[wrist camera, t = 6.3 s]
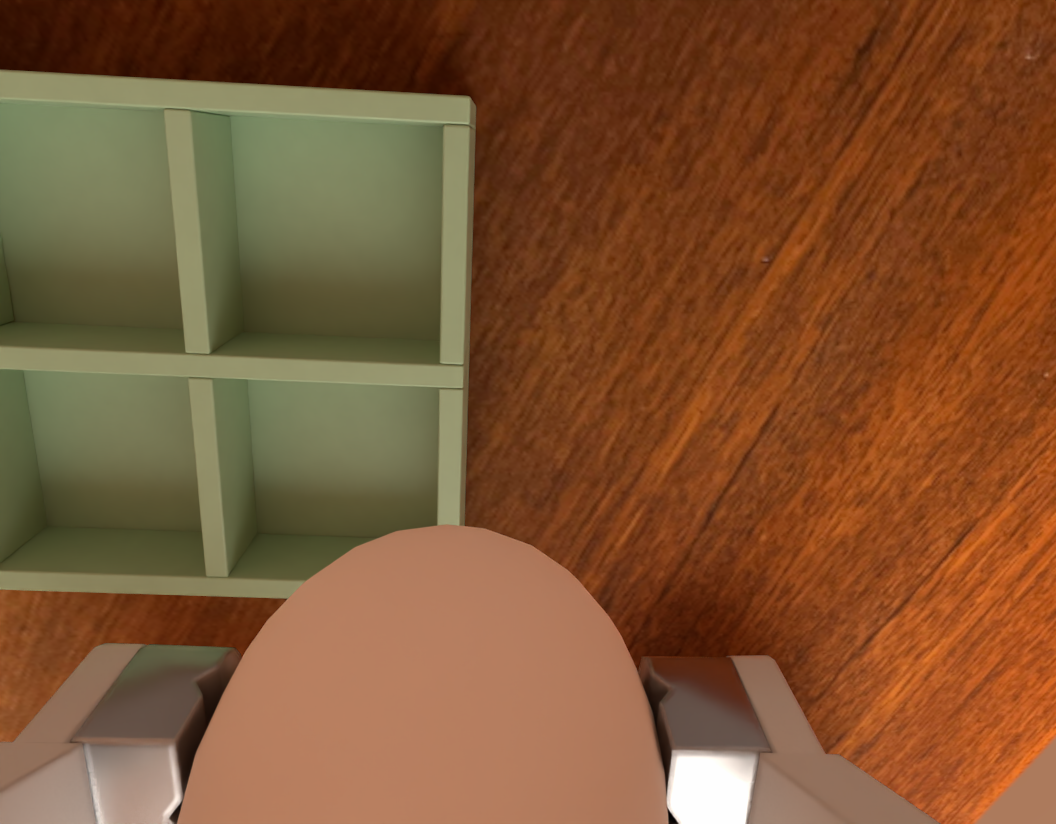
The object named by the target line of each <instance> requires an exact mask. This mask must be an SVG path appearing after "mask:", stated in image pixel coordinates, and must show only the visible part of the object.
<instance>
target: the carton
mask: <svg viewBox="0 0 1056 824" xmlns="http://www.w3.org/2000/svg"><path fill="white" fill-rule="evenodd" d="M475 133H476V105H475V104H474V102H473V101H472V99H471V98H470V97H469V96H462V95H444V94H426V93H409V92H391V91H373V90H355V89H338V88H320V87H302V86H284V85H267V84H249V83H231V82H213V81H196V80H178V79H160V78H142V77H125V76H107V75H89V74H71V73H54V72H36V71H18V70H1V69H0V590H30V591H62V592H94V593H126V594H158V595H189V596H221V597H253V598H285V599H288V598H289V597H290V596H291V595H292V594H293V593H294V592H295V591H296V590H297V589H298V588H299V587H300V586H301V585H302V584H303V583H304V582H306V581H307V580H308V579H310V578H311V577H312V576H314V575H315V574H317V573H318V572H319V571H321V570H322V569H324V568H325V567H327V566H328V565H330V564H331V563H333V562H334V561H336V560H337V559H338V558H340V557H341V556H343V555H344V554H346V553H347V552H349V551H350V550H352V549H353V548H354V547H357V546H359V545H362V544H364V543H367V542H370V541H372V540H375V539H377V538H380V537H382V536H385V535H387V534H390V533H393V532H395V531H400V530H407V529H415V528H423V527H430V526H438V525H446V524H449V525H458V526H465V495H466V459H467V423H468V387H469V351H470V314H471V278H472V242H473V206H474V170H475Z"/></svg>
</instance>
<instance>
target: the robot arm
mask: <svg viewBox="0 0 1056 824" xmlns="http://www.w3.org/2000/svg"><path fill="white" fill-rule="evenodd" d="M241 659H242V657H241V654H240V653H239V652H238V650H237V649H236V648H231V647H207V646H182V645H158V644H149V645H145V644H118V643H105V644H102V645H99V646H97V647H94V648H93V649H92V650H91V651H90V653H89V654H88V655H87V656H86V657H85V658H84V660H83V661H82V662H81V663H80V664H79V665H78V667H77V668H76V669H75V670H74V671H73V672H72V674H71V675H70V676H69V677H68V678H67V679H66V681H65V682H64V683H63V684H62V685H61V686H60V688H59V689H58V690H57V691H56V692H55V693H54V695H53V696H52V697H51V698H50V699H49V700H48V702H47V703H46V704H45V705H44V706H43V707H42V709H41V710H40V711H39V712H38V713H37V714H36V716H35V717H34V718H33V719H32V720H31V721H30V723H29V724H28V725H27V726H26V727H25V728H24V730H23V731H22V732H21V733H20V734H19V735H18V737H17V738H16V739H15V740H14V741H13V742H0V824H177V821H178V817H179V814H180V810H181V806H182V802H183V799H184V795H185V791H186V787H187V784H188V780H189V776H190V772H191V769H192V765H193V761H194V757H195V754H196V751H197V749H198V747H199V745H200V742H201V740H202V738H203V736H204V734H205V731H206V729H207V727H208V725H209V723H210V721H211V718H212V716H213V714H214V712H215V710H216V707H217V705H218V703H219V701H220V699H221V696H222V694H223V692H224V691H225V689H226V687H227V685H228V683H229V681H230V679H231V677H232V676H233V674H234V672H235V670H236V668H237V666H238V664H239V663H240V661H241ZM638 674H639V677H640V679H641V682H642V685H643V687H644V690H645V693H646V695H647V698H648V701H649V703H650V706H651V709H652V712H653V716H654V721H655V726H656V731H657V736H658V740H659V745H660V750H661V755H662V760H663V765H664V770H665V782H666V796H667V810H668V823H669V824H940V823H939V822H937V821H936V820H934V819H933V818H931V817H930V816H929V815H927V814H926V813H924V812H923V811H921V810H920V809H918V808H917V807H915V806H914V805H912V804H911V803H909V802H908V801H907V800H905V799H904V798H902V797H901V796H899V795H898V794H896V793H895V792H893V791H892V790H890V789H889V788H888V787H886V786H885V785H883V784H882V783H880V782H879V781H877V780H876V779H874V778H873V777H871V776H870V775H868V774H867V773H866V772H864V771H863V770H861V769H860V768H858V767H857V766H855V765H854V764H852V763H851V762H849V761H848V760H846V759H845V758H844V757H842V756H841V755H839V754H825V752H824V750H823V748H822V746H821V744H820V743H819V741H818V739H817V737H816V735H815V733H814V731H813V730H812V728H811V726H810V724H809V722H808V720H807V718H806V717H805V715H804V713H803V711H802V709H801V707H800V705H799V704H798V702H797V700H796V698H795V696H794V694H793V693H792V691H791V689H790V687H789V685H788V683H787V681H786V680H785V678H784V676H783V674H782V672H781V670H780V668H779V667H778V665H777V663H776V661H775V660H774V659H773V658H771V657H770V656H768V655H750V656H726V657H662V656H642V658H641V661H640V665H639V671H638Z"/></svg>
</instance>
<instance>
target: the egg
mask: <svg viewBox="0 0 1056 824" xmlns="http://www.w3.org/2000/svg"><path fill="white" fill-rule="evenodd" d="M177 824H669V823H668V810H667V796H666V782H665V770H664V765H663V760H662V755H661V750H660V745H659V740H658V736H657V731H656V726H655V721H654V716H653V712H652V709H651V706H650V703H649V701H648V698H647V695H646V693H645V690H644V687H643V685H642V682H641V679H640V677H639V674H638V671H637V668H636V666H635V664H634V662H633V660H632V658H631V656H630V653H629V651H628V649H627V647H626V645H625V643H624V641H623V638H622V636H621V635H620V633H619V631H618V630H617V628H616V627H615V625H614V624H613V622H612V620H611V619H610V617H609V616H608V615H607V613H606V612H605V611H604V610H603V609H602V608H601V606H600V605H599V604H598V603H597V602H596V600H595V599H594V598H593V597H592V596H591V595H590V593H589V592H588V591H587V590H586V589H585V588H584V586H583V585H582V584H581V583H580V582H579V581H578V580H577V579H576V578H575V577H574V576H573V575H572V574H571V573H570V572H569V571H568V570H567V569H566V568H564V567H563V566H561V565H560V564H558V563H557V562H555V561H554V560H552V559H551V558H549V557H548V556H546V555H545V554H543V553H542V552H541V551H539V550H538V549H536V548H535V547H533V546H532V545H529V544H526V543H524V542H521V541H518V540H515V539H513V538H510V537H507V536H504V535H501V534H499V533H496V532H493V531H490V530H488V529H485V528H476V527H467V526H458V525H449V524H446V525H438V526H430V527H423V528H415V529H407V530H400V531H395V532H393V533H390V534H387V535H385V536H382V537H380V538H377V539H375V540H372V541H370V542H367V543H364V544H362V545H359V546H357V547H354V548H353V549H352V550H350V551H349V552H347V553H346V554H344V555H343V556H341V557H340V558H338V559H337V560H336V561H334V562H333V563H331V564H330V565H328V566H327V567H325V568H324V569H322V570H321V571H319V572H318V573H317V574H315V575H314V576H312V577H311V578H310V579H308V580H307V581H306V582H304V583H303V584H302V585H301V586H300V587H299V588H298V589H297V590H296V591H295V592H294V593H293V594H292V595H291V596H290V597H289V598H288V599H287V600H286V601H285V602H284V603H283V605H282V606H281V607H280V608H279V609H278V610H277V611H276V612H275V613H274V614H273V615H272V616H271V617H270V618H269V619H268V620H267V622H266V623H265V624H264V626H263V627H262V629H261V630H260V631H259V633H258V634H257V636H256V637H255V638H254V640H253V641H252V643H251V644H250V645H249V647H248V648H247V650H246V651H245V653H244V655H243V657H242V659H241V661H240V663H239V664H238V666H237V668H236V670H235V672H234V674H233V676H232V677H231V679H230V681H229V683H228V685H227V687H226V689H225V691H224V692H223V694H222V696H221V699H220V701H219V703H218V705H217V707H216V710H215V712H214V714H213V716H212V718H211V721H210V723H209V725H208V727H207V729H206V731H205V734H204V736H203V738H202V740H201V742H200V745H199V747H198V749H197V751H196V754H195V757H194V761H193V765H192V769H191V772H190V776H189V780H188V784H187V787H186V791H185V795H184V799H183V802H182V806H181V810H180V814H179V817H178V821H177Z"/></svg>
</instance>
